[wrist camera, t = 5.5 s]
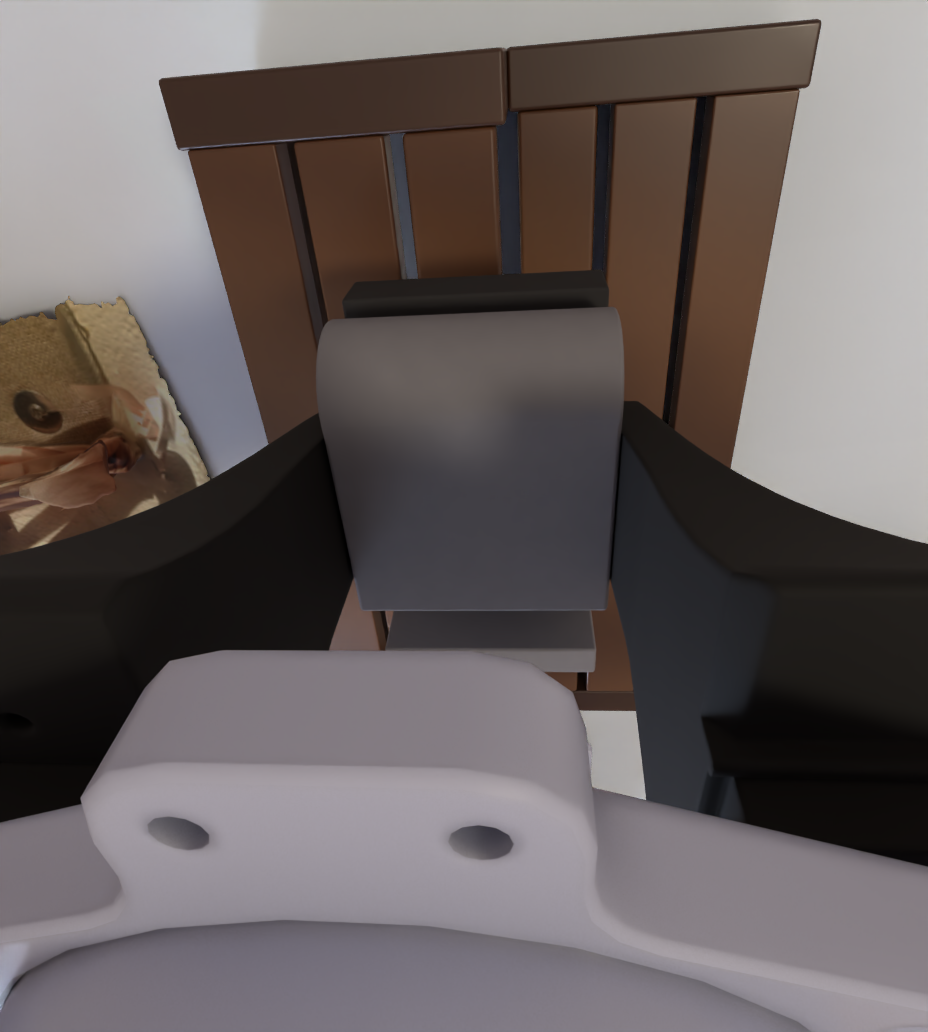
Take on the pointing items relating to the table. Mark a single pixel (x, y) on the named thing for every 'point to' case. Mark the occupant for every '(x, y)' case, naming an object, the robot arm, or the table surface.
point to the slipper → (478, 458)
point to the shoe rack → (476, 213)
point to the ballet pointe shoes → (84, 426)
